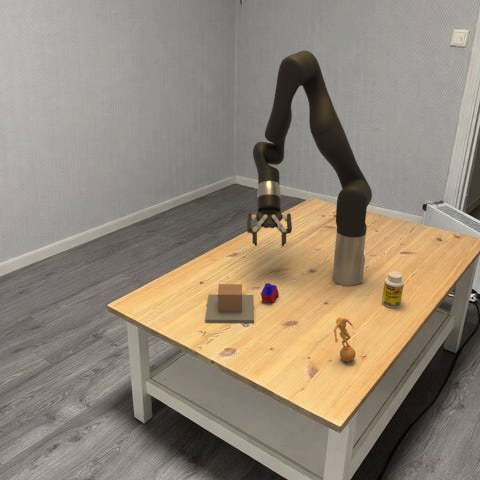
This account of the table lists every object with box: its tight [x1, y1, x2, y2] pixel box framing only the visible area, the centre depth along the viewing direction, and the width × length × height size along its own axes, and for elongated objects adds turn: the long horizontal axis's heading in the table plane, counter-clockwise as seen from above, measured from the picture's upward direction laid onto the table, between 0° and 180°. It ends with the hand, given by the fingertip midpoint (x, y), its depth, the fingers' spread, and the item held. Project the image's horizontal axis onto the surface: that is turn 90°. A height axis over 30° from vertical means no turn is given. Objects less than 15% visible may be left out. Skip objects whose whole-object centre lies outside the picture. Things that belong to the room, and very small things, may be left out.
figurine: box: [333, 317, 357, 363], centre depth 135 cm, size 8×6×12 cm
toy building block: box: [260, 282, 280, 304], centre depth 162 cm, size 4×4×8 cm
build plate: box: [204, 283, 255, 324], centre depth 157 cm, size 14×14×7 cm
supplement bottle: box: [381, 270, 405, 309], centre depth 160 cm, size 6×6×10 cm
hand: (269, 245), depth 167 cm, fingers open, 8 cm apart
